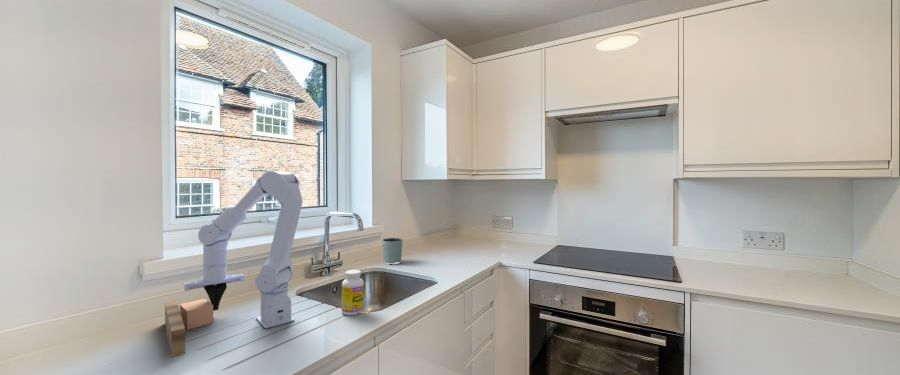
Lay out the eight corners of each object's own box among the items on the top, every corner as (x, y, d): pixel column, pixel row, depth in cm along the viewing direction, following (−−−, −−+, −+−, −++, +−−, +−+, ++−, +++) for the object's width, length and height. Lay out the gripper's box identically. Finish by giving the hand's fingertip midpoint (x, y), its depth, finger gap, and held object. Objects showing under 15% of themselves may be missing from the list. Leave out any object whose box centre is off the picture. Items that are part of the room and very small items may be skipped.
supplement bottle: (351, 317, 101) (352, 275, 101) (337, 313, 105) (337, 272, 104) (367, 310, 107) (368, 270, 106) (353, 306, 110) (353, 267, 110)
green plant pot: (403, 260, 173) (403, 237, 173) (401, 265, 163) (401, 241, 163) (383, 260, 173) (383, 237, 172) (380, 265, 162) (380, 241, 162)
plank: (185, 353, 79) (185, 328, 79) (171, 356, 78) (171, 331, 77) (176, 321, 97) (176, 300, 97) (164, 323, 95) (164, 302, 95)
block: (213, 322, 96) (213, 305, 96) (187, 329, 92) (187, 311, 92) (204, 315, 101) (204, 298, 101) (179, 321, 97) (179, 304, 97)
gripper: (240, 258, 107) (240, 299, 108) (182, 265, 97) (182, 311, 98) (245, 262, 102) (245, 306, 103) (185, 270, 92) (185, 319, 93)
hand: (215, 309), depth 100 cm, fingers closed
